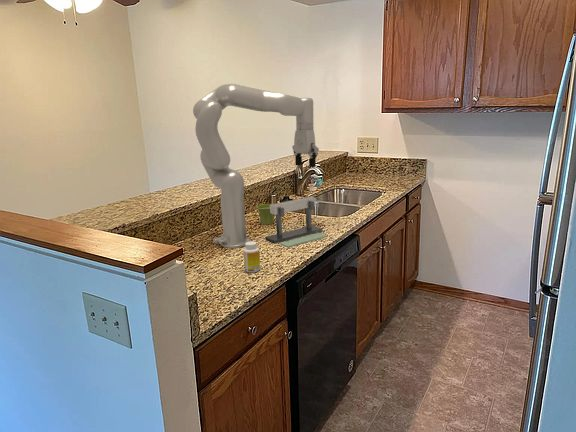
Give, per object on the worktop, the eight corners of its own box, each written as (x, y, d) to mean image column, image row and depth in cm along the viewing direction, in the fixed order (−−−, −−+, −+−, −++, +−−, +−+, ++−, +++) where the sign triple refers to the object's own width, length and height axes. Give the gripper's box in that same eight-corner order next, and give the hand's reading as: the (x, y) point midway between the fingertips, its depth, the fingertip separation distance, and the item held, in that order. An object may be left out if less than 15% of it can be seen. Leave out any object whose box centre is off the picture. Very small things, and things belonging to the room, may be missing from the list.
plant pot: (272, 226, 211) (272, 208, 209) (254, 225, 214) (253, 208, 212) (279, 221, 220) (278, 204, 217) (262, 220, 223) (261, 203, 220)
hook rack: (274, 244, 186) (272, 210, 182) (265, 240, 191) (263, 207, 187) (322, 231, 200) (321, 200, 196) (312, 228, 205) (312, 197, 202)
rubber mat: (287, 247, 180) (287, 246, 180) (280, 244, 185) (280, 243, 185) (327, 236, 192) (327, 235, 192) (319, 234, 196) (319, 232, 196)
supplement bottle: (263, 269, 158) (262, 242, 156) (252, 274, 155) (250, 246, 152) (253, 266, 162) (251, 239, 160) (241, 270, 158) (239, 243, 156)
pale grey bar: (274, 214, 185) (274, 206, 184) (270, 213, 188) (269, 204, 187) (316, 205, 197) (315, 197, 196) (311, 204, 200) (310, 196, 199)
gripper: (286, 126, 198) (287, 165, 202) (310, 128, 184) (311, 169, 189) (299, 126, 202) (300, 163, 206) (324, 127, 189) (324, 167, 193)
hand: (305, 166), depth 197 cm, fingers open, 9 cm apart
